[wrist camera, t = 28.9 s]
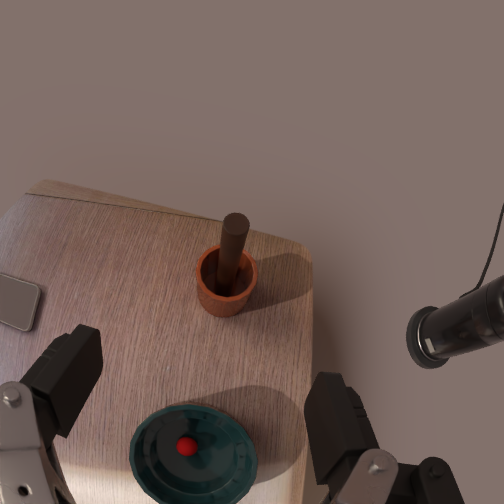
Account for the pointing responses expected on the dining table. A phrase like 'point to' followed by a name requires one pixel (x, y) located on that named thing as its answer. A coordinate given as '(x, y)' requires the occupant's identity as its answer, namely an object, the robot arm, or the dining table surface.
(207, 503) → the mixing bowl
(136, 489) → the dining table surface
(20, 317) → the smartphone
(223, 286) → the stirring stick
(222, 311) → the utensil cup
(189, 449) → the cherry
